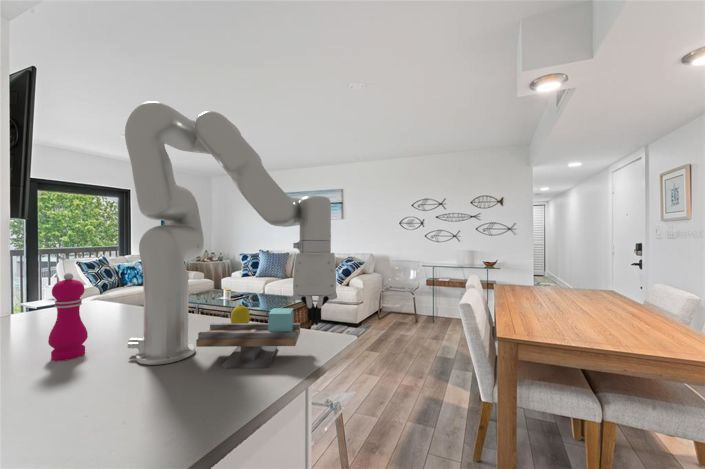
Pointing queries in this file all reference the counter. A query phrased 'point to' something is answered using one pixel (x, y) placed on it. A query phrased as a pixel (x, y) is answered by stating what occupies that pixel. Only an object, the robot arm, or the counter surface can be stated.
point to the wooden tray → (247, 342)
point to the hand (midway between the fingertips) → (314, 323)
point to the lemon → (240, 315)
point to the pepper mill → (68, 320)
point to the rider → (281, 320)
